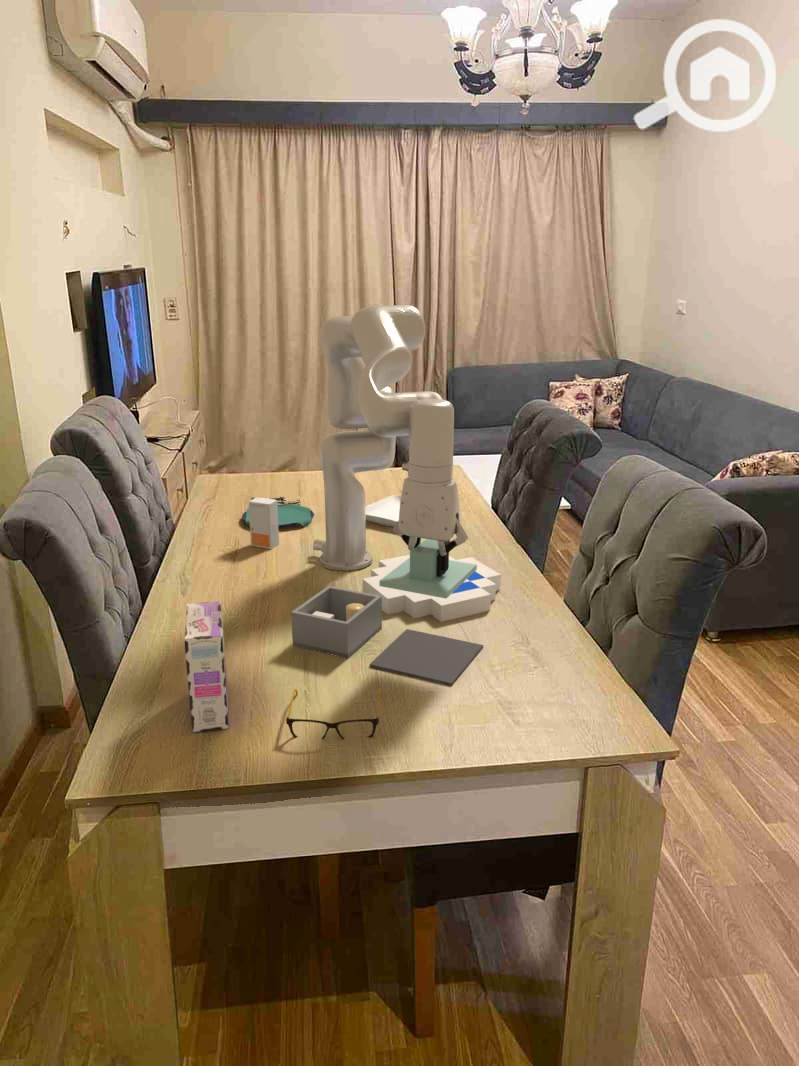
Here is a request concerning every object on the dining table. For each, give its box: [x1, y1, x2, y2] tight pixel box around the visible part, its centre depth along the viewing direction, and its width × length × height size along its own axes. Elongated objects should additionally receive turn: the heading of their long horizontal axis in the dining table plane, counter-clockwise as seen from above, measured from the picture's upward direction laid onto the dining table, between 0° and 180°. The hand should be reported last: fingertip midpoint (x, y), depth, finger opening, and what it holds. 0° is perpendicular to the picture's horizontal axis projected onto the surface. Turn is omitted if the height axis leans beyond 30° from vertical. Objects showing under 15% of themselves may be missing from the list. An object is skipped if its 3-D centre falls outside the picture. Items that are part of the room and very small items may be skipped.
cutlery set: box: [241, 496, 315, 528], centre depth 232 cm, size 20×30×2 cm, turn 8°
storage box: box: [290, 585, 383, 659], centre depth 159 cm, size 12×14×7 cm
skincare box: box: [248, 496, 280, 550], centre depth 206 cm, size 6×4×12 cm
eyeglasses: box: [285, 688, 381, 740], centre depth 133 cm, size 14×14×4 cm
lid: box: [379, 539, 477, 599], centre depth 146 cm, size 13×15×6 cm
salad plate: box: [365, 494, 401, 528], centre depth 228 cm, size 21×21×3 cm
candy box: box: [184, 600, 230, 733], centre depth 132 cm, size 14×6×16 cm, turn 12°
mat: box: [369, 628, 484, 687], centre depth 152 cm, size 16×16×1 cm
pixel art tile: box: [362, 554, 502, 623], centre depth 180 cm, size 28×4×28 cm
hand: (429, 570), depth 146 cm, fingers closed on lid, 4 cm apart
